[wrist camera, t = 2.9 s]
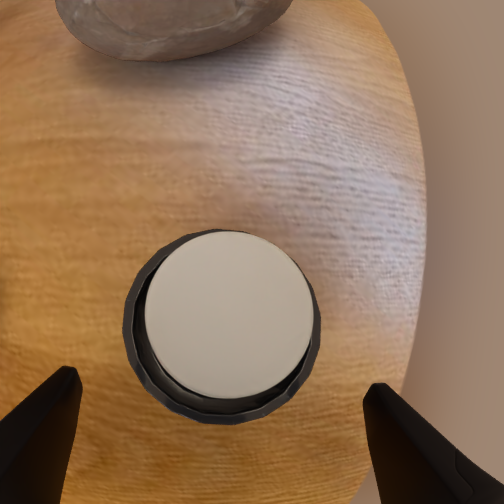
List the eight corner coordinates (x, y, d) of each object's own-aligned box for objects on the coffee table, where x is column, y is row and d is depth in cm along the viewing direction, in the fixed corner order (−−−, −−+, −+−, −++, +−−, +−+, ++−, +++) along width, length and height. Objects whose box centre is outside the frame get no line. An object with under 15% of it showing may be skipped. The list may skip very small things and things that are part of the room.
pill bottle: (249, 269, 19) (289, 189, 10) (283, 360, 18) (361, 368, 8) (156, 298, 18) (105, 244, 8) (189, 393, 17) (168, 442, 7)
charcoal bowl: (263, 427, 17) (280, 449, 12) (120, 369, 17) (94, 374, 12) (315, 289, 20) (343, 272, 15) (180, 234, 19) (173, 201, 15)
